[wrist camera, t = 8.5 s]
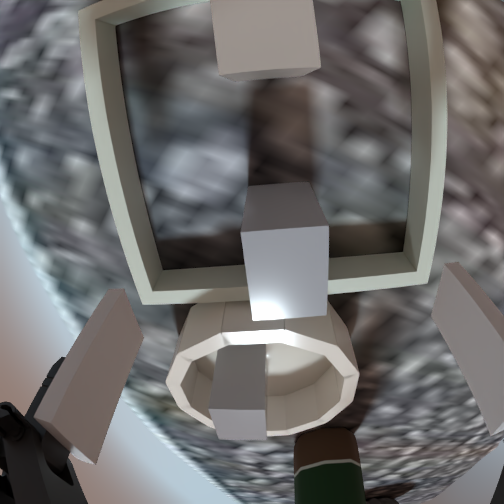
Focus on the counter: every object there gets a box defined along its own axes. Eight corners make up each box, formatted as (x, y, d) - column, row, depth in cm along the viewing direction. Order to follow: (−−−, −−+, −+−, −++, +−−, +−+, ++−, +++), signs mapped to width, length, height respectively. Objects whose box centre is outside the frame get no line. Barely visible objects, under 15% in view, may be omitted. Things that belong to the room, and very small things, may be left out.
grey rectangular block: (219, 340, 22) (208, 408, 17) (265, 340, 22) (264, 409, 16) (226, 377, 24) (219, 439, 19) (267, 376, 24) (266, 439, 19)
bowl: (161, 288, 21) (142, 333, 17) (352, 275, 20) (370, 320, 16) (201, 395, 27) (194, 434, 23) (338, 389, 26) (344, 429, 22)
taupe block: (226, 7, 12) (206, -34, 7) (291, 1, 12) (304, -42, 6) (235, 82, 14) (219, 75, 9) (300, 76, 14) (321, 67, 9)
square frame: (99, 17, 12) (78, 10, 10) (412, -11, 10) (431, -20, 8) (153, 283, 21) (142, 304, 18) (413, 263, 19) (427, 283, 17)
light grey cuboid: (248, 186, 17) (240, 232, 12) (308, 181, 17) (329, 225, 12) (256, 255, 19) (252, 320, 14) (310, 251, 19) (326, 315, 14)
